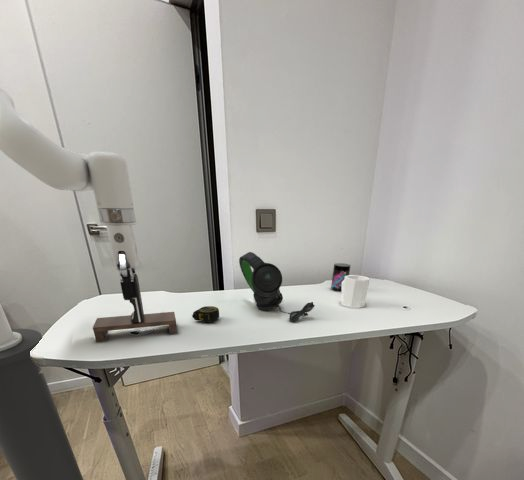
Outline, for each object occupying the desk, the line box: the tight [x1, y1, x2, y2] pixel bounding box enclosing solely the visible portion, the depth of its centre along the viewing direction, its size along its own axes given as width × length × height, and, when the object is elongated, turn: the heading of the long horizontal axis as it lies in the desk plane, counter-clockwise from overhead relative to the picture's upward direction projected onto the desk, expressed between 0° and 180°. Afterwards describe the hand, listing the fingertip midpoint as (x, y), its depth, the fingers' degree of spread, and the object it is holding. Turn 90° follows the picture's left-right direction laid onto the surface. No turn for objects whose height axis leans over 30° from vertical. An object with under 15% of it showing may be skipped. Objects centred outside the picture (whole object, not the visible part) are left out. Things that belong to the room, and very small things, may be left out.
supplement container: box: [330, 262, 352, 292], centre depth 122 cm, size 7×7×10 cm
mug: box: [340, 274, 370, 309], centre depth 106 cm, size 12×9×10 cm
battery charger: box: [123, 274, 145, 322], centre depth 75 cm, size 7×4×11 cm, turn 19°
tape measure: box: [191, 305, 220, 323], centre depth 88 cm, size 7×7×4 cm
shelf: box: [92, 311, 178, 343], centre depth 79 cm, size 20×7×4 cm, turn 109°
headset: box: [238, 251, 315, 322], centre depth 95 cm, size 18×14×29 cm
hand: (131, 292), depth 74 cm, fingers closed on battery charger, 7 cm apart
